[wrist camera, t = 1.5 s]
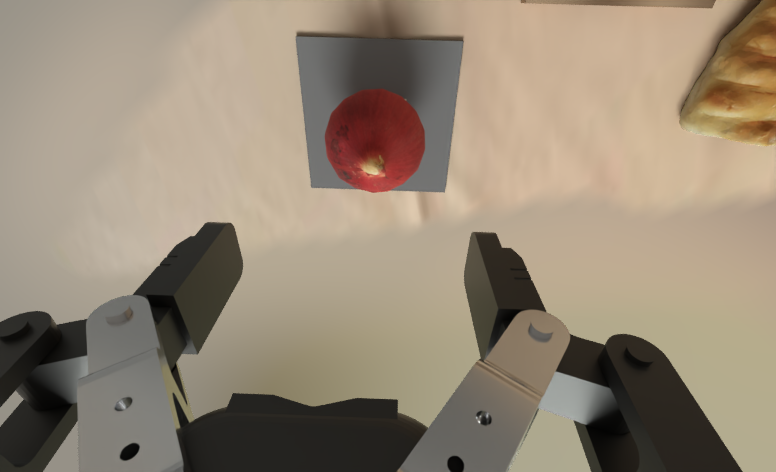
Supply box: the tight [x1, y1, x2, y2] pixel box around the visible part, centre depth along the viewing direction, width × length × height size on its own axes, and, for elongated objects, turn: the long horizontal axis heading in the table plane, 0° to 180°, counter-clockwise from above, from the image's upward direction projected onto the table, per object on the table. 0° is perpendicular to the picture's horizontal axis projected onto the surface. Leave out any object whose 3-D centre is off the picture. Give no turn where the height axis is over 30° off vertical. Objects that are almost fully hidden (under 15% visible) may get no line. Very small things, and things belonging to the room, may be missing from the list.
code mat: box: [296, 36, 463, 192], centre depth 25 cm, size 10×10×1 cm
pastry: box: [679, 0, 776, 146], centre depth 20 cm, size 9×7×4 cm
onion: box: [325, 89, 425, 193], centre depth 21 cm, size 6×6×8 cm
